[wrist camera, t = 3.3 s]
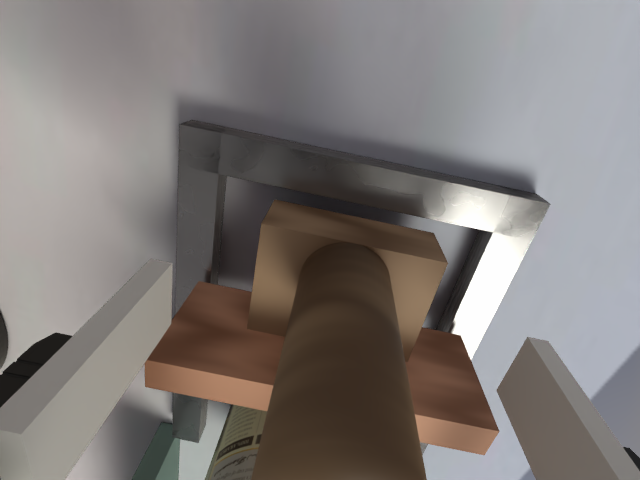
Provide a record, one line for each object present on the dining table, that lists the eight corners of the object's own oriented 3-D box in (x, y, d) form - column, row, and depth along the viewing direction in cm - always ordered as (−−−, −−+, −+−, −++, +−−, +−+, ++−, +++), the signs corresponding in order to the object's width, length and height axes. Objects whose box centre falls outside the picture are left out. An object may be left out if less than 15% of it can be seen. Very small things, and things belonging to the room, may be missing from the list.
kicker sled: (197, 304, 21) (39, 555, 10) (204, 184, 18) (-16, 368, 7) (450, 356, 21) (551, 653, 11) (502, 247, 18) (721, 517, 7)
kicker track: (180, 419, 29) (172, 437, 27) (191, 119, 19) (179, 124, 17) (404, 464, 29) (407, 484, 28) (536, 193, 19) (550, 204, 18)
